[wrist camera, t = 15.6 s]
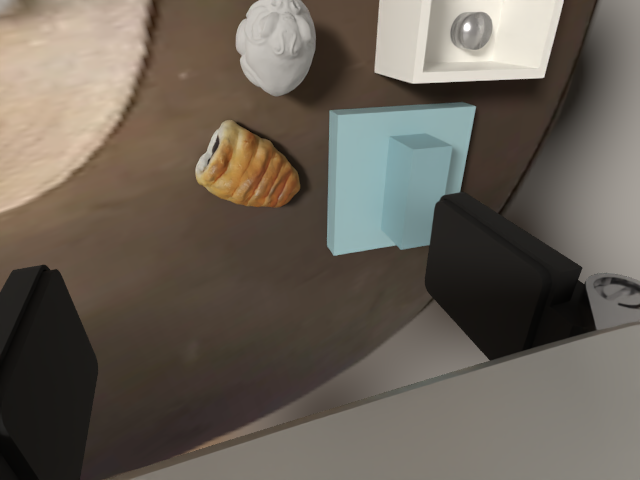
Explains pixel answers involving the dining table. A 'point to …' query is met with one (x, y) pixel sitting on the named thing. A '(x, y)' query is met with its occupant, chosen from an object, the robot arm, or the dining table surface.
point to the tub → (457, 63)
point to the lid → (393, 172)
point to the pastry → (246, 169)
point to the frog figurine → (276, 44)
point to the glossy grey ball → (471, 30)
